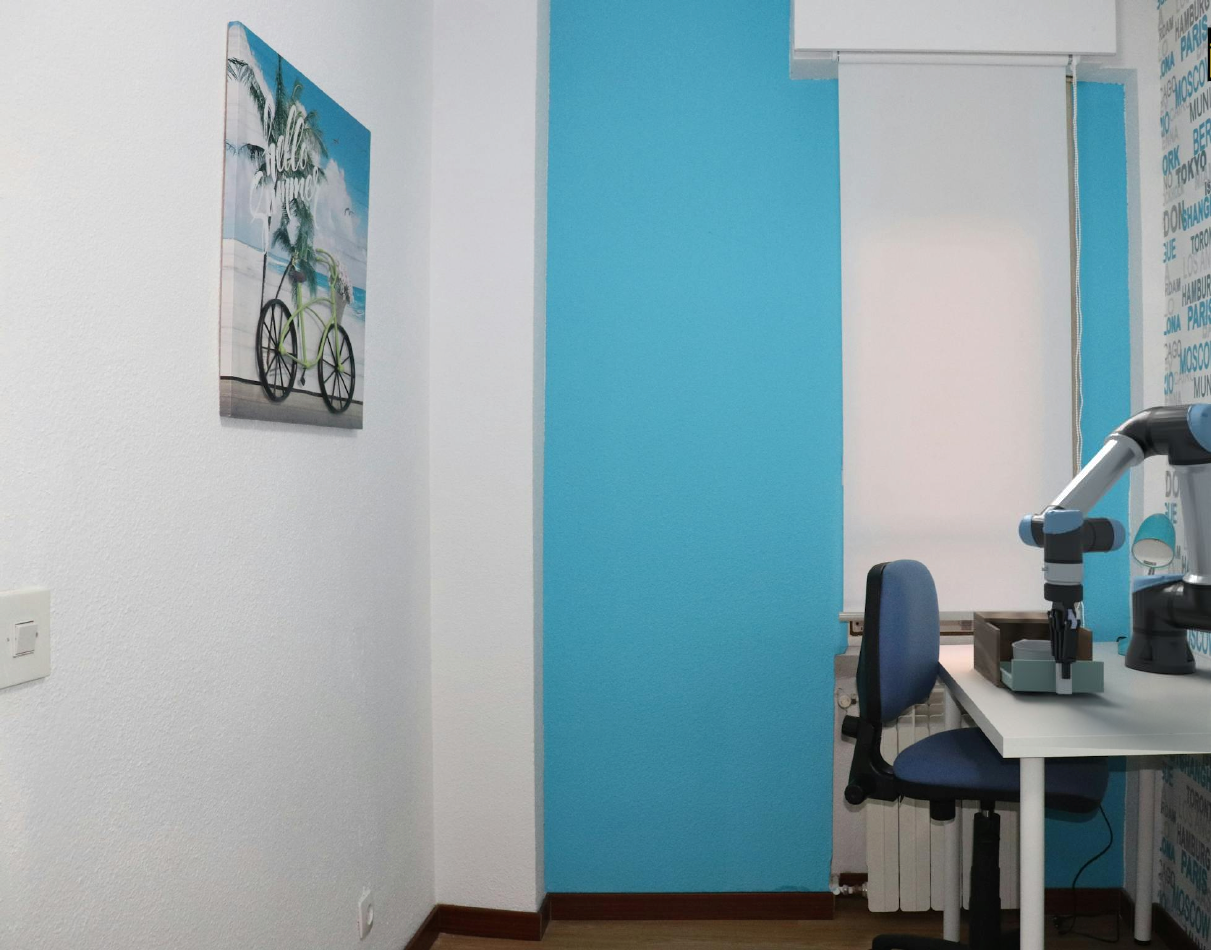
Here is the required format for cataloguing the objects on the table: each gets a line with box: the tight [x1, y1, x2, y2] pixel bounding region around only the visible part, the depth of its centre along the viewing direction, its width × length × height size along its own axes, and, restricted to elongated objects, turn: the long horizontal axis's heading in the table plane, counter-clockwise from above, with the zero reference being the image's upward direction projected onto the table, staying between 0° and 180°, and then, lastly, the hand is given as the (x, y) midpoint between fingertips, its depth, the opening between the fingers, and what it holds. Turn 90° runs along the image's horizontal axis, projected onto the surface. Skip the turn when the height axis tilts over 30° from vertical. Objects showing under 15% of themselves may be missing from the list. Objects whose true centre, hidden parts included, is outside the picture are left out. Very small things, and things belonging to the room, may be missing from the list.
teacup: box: [1012, 639, 1055, 660], centre depth 211 cm, size 14×11×8 cm
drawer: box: [1000, 659, 1105, 694], centre depth 211 cm, size 19×20×7 cm
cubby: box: [973, 611, 1094, 688], centre depth 219 cm, size 21×20×14 cm
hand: (1063, 693), depth 198 cm, fingers closed
